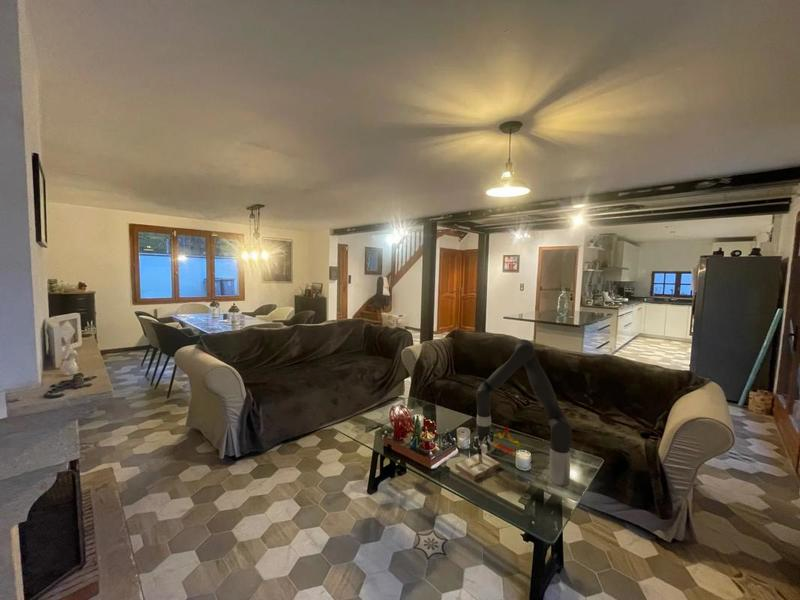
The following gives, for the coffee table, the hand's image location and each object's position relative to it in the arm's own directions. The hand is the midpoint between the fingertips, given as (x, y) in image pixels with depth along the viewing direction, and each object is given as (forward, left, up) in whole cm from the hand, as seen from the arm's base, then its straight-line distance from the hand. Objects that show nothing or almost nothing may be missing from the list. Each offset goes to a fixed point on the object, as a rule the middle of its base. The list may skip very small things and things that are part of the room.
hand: (483, 452), depth 189 cm
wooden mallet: (+4, -2, -7) cm, 8 cm away
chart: (-23, -7, -10) cm, 26 cm away
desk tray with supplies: (+2, -2, -10) cm, 10 cm away
